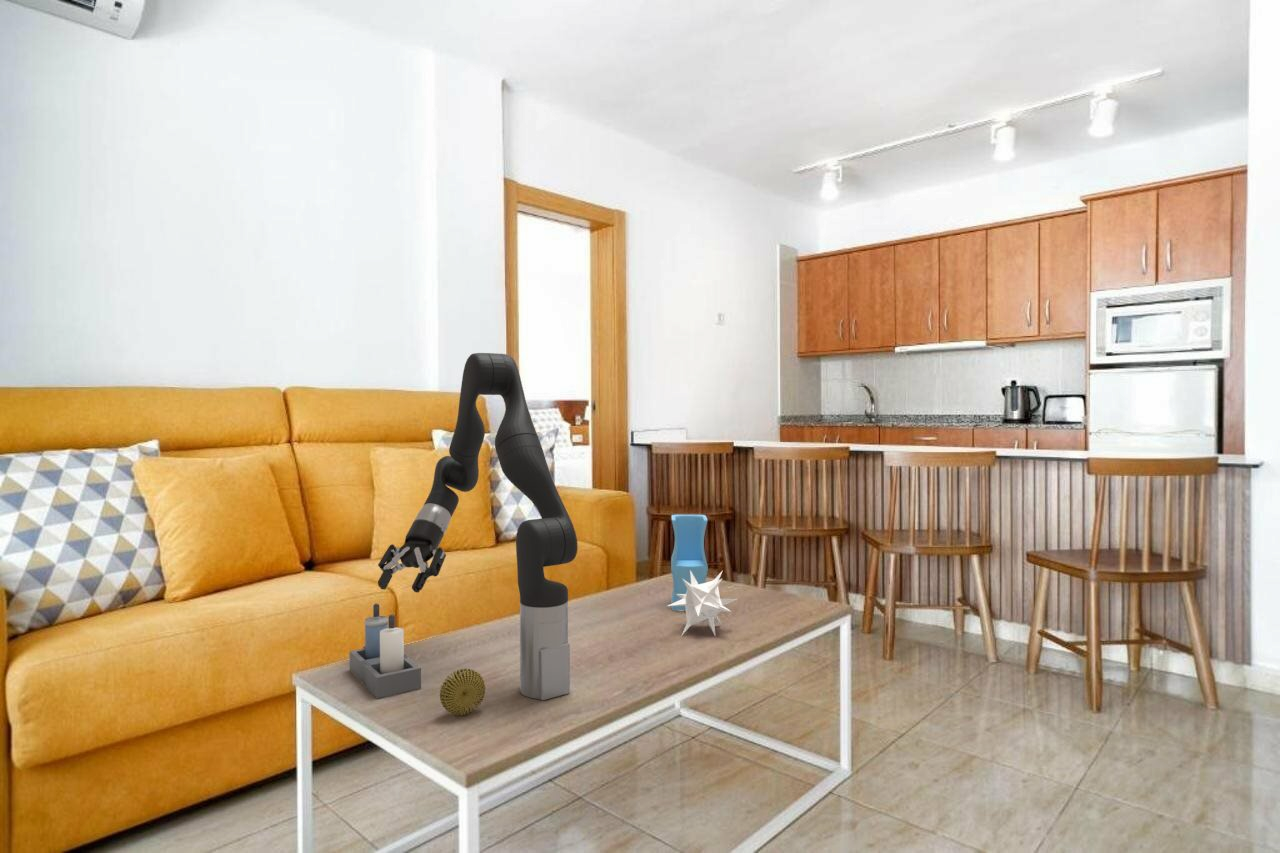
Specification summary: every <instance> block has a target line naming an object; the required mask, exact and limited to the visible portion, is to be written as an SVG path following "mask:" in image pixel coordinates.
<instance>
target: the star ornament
mask: <svg viewBox="0 0 1280 853" xmlns="http://www.w3.org/2000/svg"><path fill="white" fill-rule="evenodd" d="M723 570H724V569H723ZM723 570H722V571H721V572H719V574H717V576H716V577H715V578H714V579H713V580H711V581H707V582H706V581H705V583H702V584H698V583H697V581H696V579H695V577H694V576H693V574H692V572H691V570H690V575H691V584H690V583H688V582H687V581H685V580H684V579H683V581H684V583H685V585H686V587H687V592H686V594H676V595H678V596H679V597H681V598H682V599H681V600H679V601H677V602H675V603H672V604H671V603H670V604H668V605H667V607H671V606H685V610H686V611H685V616H686V620H685V622H684V624H683V626H684V629H683V631H682V634H681V636H683V635H684V634H685V633H686V631H688V629H689V628H690V627H691V626H695V625H697V624H700V623H704V622H707V624H708V626H709V628H710V629H711V632H712V633H713V635H714V637H716V627H715V622H716V623H718V624H719V625H721V626H722V623H721V620H720V619H719V617H718V616H719V615H718V614H719V613H721V612H729V613H733V612H732V611H731V610H730V609H729V608H727V607H726V606H725V605H728V604H730V603H732V602H735V601H736V600H738V598H721V597H720V590H719V585H720V583H721V581H722V580H723V578H721V576H722V573H723Z"/></svg>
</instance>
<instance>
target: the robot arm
mask: <svg viewBox="0 0 1280 853" xmlns="http://www.w3.org/2000/svg"><path fill="white" fill-rule="evenodd" d="M459 393H460V394H459V401H458V402H459V403H458V409H457V410H458V413H457V419H456V423H455V424H456V425H455V428H454V431H453V434H452V438H451V441H450V444H449V448H448V452H449V455H445V456H442V457H441V458H440V459H439V460H438V461H437V462H436V465H435V467H434V468H435V469H434V474H433V481H432V486H431V490H430V492H429V493H428V496H427V498H426V500H425V502H424V503H423V506H422V507H421V509H420V510H419V512H418V513H417V515H416V516H415V518H414V520H413V522H412V524H411V526H410V528H409V530H408V531H407V533H406V535H405V538H404V543H403V545H402V546H400V547H398V546H395V545H394V544H393V543H392V544H390V545H389V546H388V548H387V549H386V550H385V552H384V554H383V556H382V557H381V559H380V561H379V563H378V564H377V566H378V567H379V569H380V570H381V572H382V573H381V575H380V577H379V579H378V581H377V584H378V585H377V586H378V587H379V588H380V589H381V590H387V587H388V585H389V583H390V582H391V580H392V578H393V575H394V574H396V573H397V572H398V571H402V570H403V569H405V568H415V569H418V568H419V571H420V572H418V574H417V575H416V577H415V579H414V581H413V583H412V585H411V589H412V591H413V592H414V593H420V591H421V590H423V589H424V586H425V585H426V582H427V580H428V579H430V577H432V576H433V577H438V575H439V574H440V572H441V569H442V567H443V564H444V562H445V559H446V557H447V554H446V553H445V550H444V549H443V548H442V547H441V546H440V544H441V542H442V540H443V538H444V536H445V534H446V532H447V530H448V527H449V526H450V521H451V519H452V518H453V515H454V513H455V512H456V509H457V507H458V504H459V496H458V494H457V493H456V492H455V491H454V490H457V491H459V492H464V493H467V492H470V491H472V490H473V489H474V488H475V487H476V485H477V483H478V480H479V471H480V470H479V454H480V451H481V449H482V446H483V443H484V438H485V436H486V435H485V433H486V431H485V430H486V428H485V423H484V422H483V419H482V417H481V414H480V413H479V410H478V408H477V407H478V406H477V400H478V398H479V396H480V395H481V396H484V395H485V396H501V397H502V399H503V402H504V406H505V411H504V414H503V417H502V420H501V422H500V424H499V426H498V428H497V432H496V435H495V438H494V448H495V452H496V455H497V458H498V461H499V465H500V468H501V471H502V473H503V474H504V476H505V477H506V479H507V480H508V481H509V482H510V483H511V484H512V485H513V486H514V487H515V488H516V489H518V490H519V492H521V493H522V494H523V495H525V497H526V498H528V499H529V500H530V501H531V502H532V504H533V505H534V507H535V508H536V510H537V511H538V514H539V515H540V518H533V519H527V520H524V521H522V522H521V523H520V524H519V526H518V529H517V531H516V537H515V543H516V544H515V549H516V550H515V551H516V552H515V553H516V566H517V568H516V570H517V586H518V591H519V592H518V593H519V690H520V694H522V695H523V696H524V697H526V698H530V699H538V700H540V701H545V700H546V701H547V700H548V699H549V700H550V699H553V698H556V697H560V696H563V695H567V694H570V693H571V676H570V674H571V658H570V657H571V647H570V646H571V645H570V643H569V590H568V587H567V586H566V585H565V584H564V583H562V582H558V581H556V580H555V581H553V580H550V579H547V578H546V576H545V571H544V568H546V567H551V566H553V567H554V566H560V565H566V564H568V563H572V562H573V561H575V558H576V556H577V554H578V549H579V548H578V539H577V538H578V537H577V533H576V530H575V527H574V524H573V522H572V519H571V518H570V515H569V513H568V510H567V508H566V506H565V504H564V502H563V500H562V498H561V496H560V494H559V492H558V489H557V487H556V485H555V484H556V483H555V482H554V480H553V477H552V473H551V472H550V468H549V466H548V462H547V459H546V456H545V452H544V449H543V447H542V444H541V440H540V438H539V435H538V434H537V431H536V427H535V425H534V422H533V419H532V417H531V414H530V410H529V407H528V403H527V400H526V396H525V391H524V387H523V383H522V380H521V375H520V372H519V368H518V366H517V363H516V361H515V359H514V358H513V357H512V356H511V355H509V354H506V353H498V352H497V353H493V352H491V353H490V352H475V353H471V354H469V356H468V358H467V359H466V362H465V363H464V368H463V372H462V378H461V386H460V392H459ZM451 488H452V489H454V490H452V489H451ZM439 546H440V547H439ZM431 559H432V560H431ZM430 560H431V562H430V565H429V562H428V561H430ZM399 561H400V562H401V563H399Z"/></svg>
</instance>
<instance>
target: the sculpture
mask: <svg viewBox="0 0 1280 853" xmlns="http://www.w3.org/2000/svg"><path fill="white" fill-rule="evenodd" d="M485 694H486V683H485V680H484V678H483V677H482V676H481V674H480V673H479V672H477V671H475V670H474V669H470V668H461V669H457V670H456V671H453V672H452V673H450V674H449V675H447V678H445V679H444V681H443V683H442V685H441V686H440V691H439V699H440V703H441V705H442V708H443V709H444V710H445V711H447V712H448V713H450V714H451V715H454V716H465V715H469V714H470V713H472V712H473V711H476V709H477V708H479V706H480V705H482V704H481V703H483V700H484V698H485Z"/></svg>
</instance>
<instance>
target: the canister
mask: <svg viewBox="0 0 1280 853" xmlns="http://www.w3.org/2000/svg"><path fill="white" fill-rule="evenodd" d="M372 608H373V610H372V616H369V617H367V618H365V619H364V645H365V660H368V659H373V658H378V657H380V631H381V630H383V629H386V628H389V620H388V618H389V616H385V615H380V604H379V603H374V604H373V607H372Z"/></svg>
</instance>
